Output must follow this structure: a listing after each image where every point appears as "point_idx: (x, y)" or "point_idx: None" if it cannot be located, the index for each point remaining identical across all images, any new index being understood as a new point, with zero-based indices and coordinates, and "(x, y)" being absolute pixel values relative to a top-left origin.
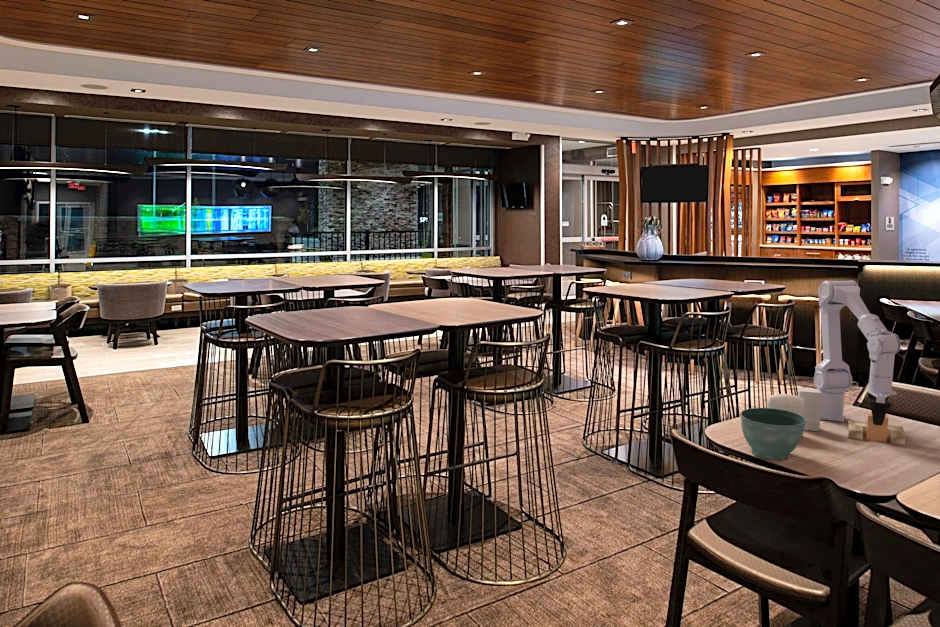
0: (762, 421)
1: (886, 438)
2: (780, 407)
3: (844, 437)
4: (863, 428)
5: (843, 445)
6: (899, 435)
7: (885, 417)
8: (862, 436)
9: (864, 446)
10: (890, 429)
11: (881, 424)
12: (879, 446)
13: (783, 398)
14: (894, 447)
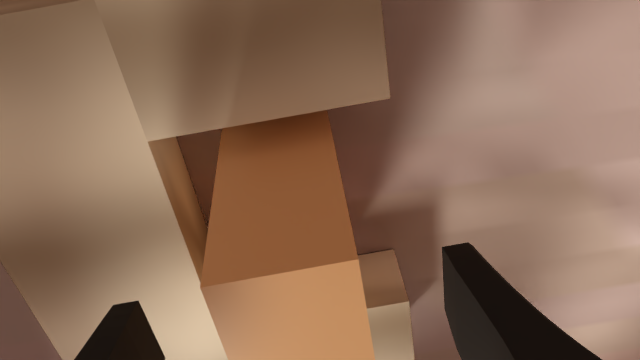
0: None
1: (326, 115)
2: None
3: None
4: None
5: (599, 307)
6: (352, 21)
7: (345, 289)
8: (399, 269)
9: (567, 209)
10: (151, 135)
11: (479, 255)
12: (516, 124)
13: None
14: (486, 12)
